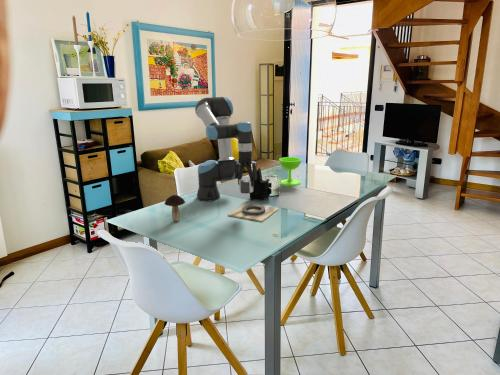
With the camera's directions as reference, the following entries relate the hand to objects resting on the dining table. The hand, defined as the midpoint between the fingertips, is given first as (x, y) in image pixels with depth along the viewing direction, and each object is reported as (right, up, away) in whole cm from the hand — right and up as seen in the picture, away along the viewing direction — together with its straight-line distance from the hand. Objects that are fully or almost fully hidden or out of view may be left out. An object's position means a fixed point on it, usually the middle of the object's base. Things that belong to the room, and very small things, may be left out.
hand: (246, 191), depth 202 cm
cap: (0, 0, 0) cm, 1 cm away
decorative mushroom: (-38, -17, -6) cm, 42 cm away
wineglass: (+32, +5, +64) cm, 71 cm away
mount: (+4, -12, +5) cm, 14 cm away
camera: (+9, -5, +30) cm, 32 cm away
